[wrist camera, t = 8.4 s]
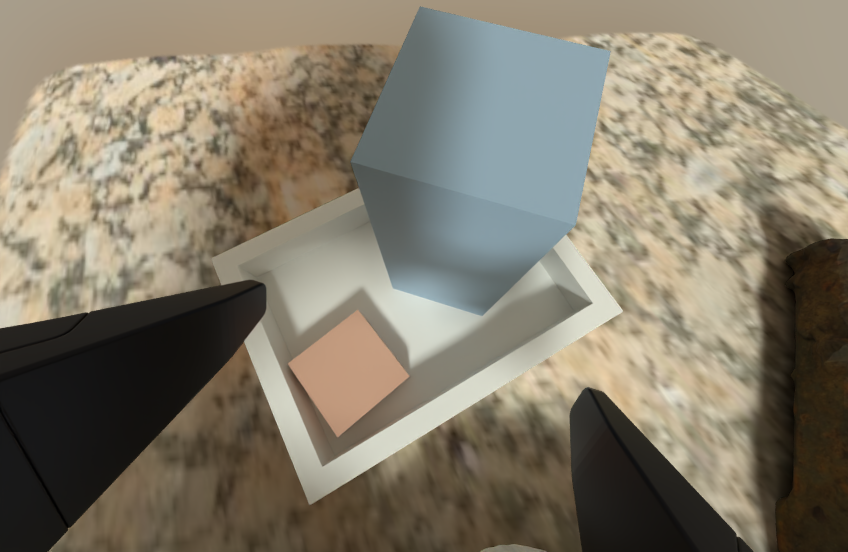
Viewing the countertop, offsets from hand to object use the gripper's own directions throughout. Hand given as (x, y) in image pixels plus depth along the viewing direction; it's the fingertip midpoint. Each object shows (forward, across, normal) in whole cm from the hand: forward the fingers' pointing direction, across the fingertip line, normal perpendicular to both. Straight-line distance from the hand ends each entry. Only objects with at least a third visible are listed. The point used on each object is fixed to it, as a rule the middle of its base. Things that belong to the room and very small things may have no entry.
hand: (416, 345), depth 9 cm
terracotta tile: (+5, +3, +7) cm, 9 cm away
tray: (+9, +1, +4) cm, 10 cm away
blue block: (+10, 0, +2) cm, 10 cm away
